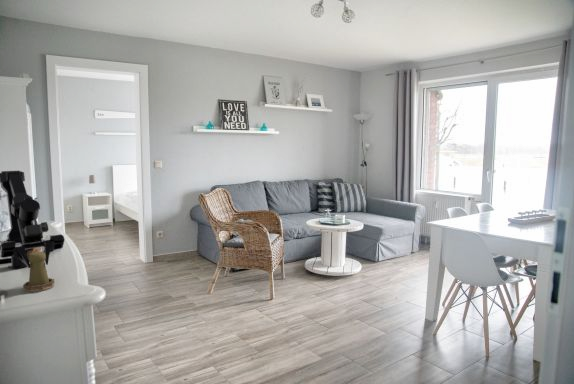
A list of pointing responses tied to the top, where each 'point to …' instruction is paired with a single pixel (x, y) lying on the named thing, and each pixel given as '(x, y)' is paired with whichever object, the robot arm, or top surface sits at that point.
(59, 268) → the top surface
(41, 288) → the walnut stand
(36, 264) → the cork
